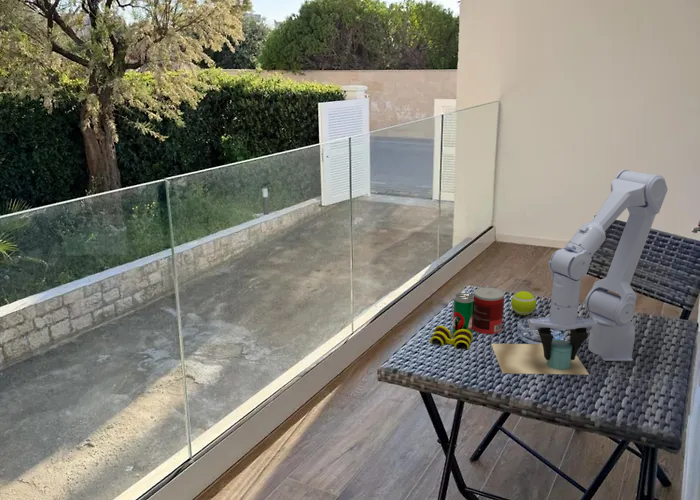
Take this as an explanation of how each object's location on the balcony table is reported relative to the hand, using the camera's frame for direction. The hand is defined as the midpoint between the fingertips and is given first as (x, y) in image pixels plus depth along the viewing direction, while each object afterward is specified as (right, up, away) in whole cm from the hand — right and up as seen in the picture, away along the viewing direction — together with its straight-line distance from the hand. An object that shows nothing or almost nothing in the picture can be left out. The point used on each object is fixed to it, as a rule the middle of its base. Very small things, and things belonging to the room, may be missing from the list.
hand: (559, 357), depth 140 cm
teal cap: (0, -2, 0) cm, 2 cm away
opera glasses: (-23, 0, +12) cm, 26 cm away
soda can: (-19, +2, +16) cm, 25 cm away
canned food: (-12, +3, +21) cm, 24 cm away
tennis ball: (+1, +7, +32) cm, 32 cm away
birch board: (-4, -2, +4) cm, 6 cm away
